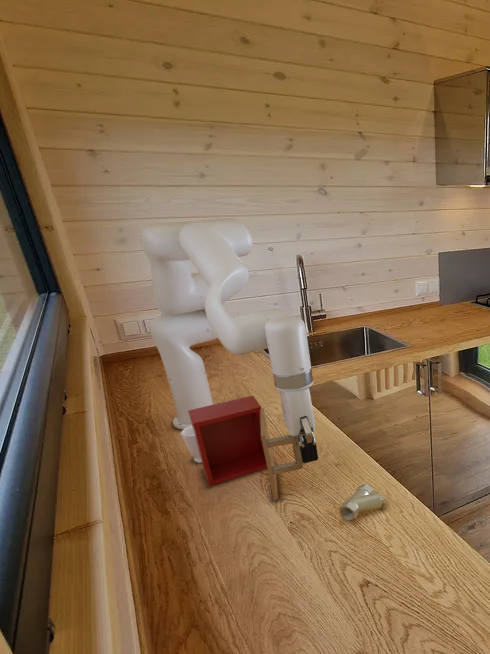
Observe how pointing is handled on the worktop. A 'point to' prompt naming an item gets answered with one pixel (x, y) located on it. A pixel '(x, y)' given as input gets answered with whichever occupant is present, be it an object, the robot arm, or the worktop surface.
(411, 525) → the worktop surface
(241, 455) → the valve cabinet
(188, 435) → the cup
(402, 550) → the worktop surface
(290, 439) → the cabinet door
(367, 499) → the pipe fitting
